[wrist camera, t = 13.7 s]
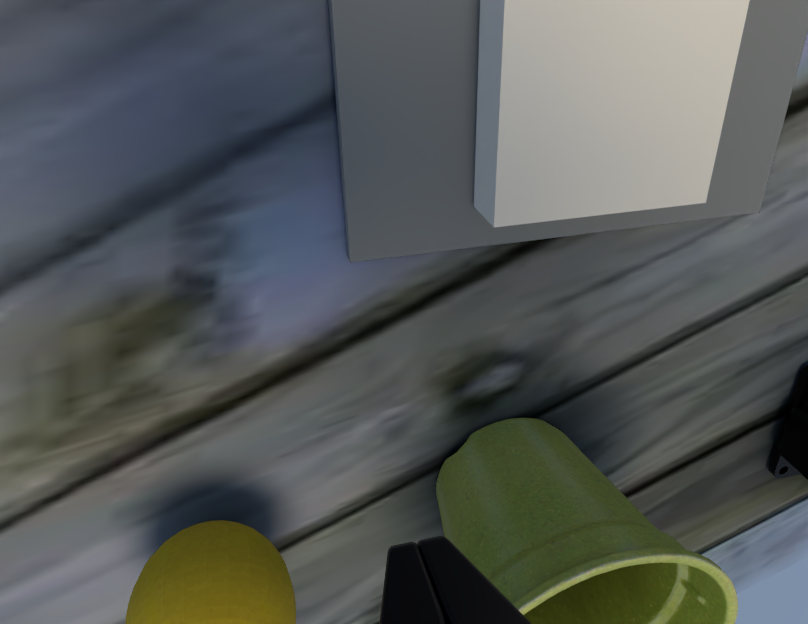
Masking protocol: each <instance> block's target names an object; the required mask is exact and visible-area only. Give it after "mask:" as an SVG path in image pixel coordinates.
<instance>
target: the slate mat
mask: <svg viewBox="0 0 808 624" xmlns="http://www.w3.org/2000/svg"><path fill="white" fill-rule="evenodd" d="M329 14H330V27H331V41H332V54H333V68H334V82H335V95H336V109H337V122H338V136H339V149H340V163H341V177H342V190H343V204H344V217H345V231H346V245H347V256H348V258H349V261H350V263H351V262H359V261H367V260H375V259H384V258H392V257H400V256H408V255H416V254H425V253H433V252H441V251H449V250H457V249H466V248H474V247H482V246H490V245H498V244H506V243H515V242H523V241H531V240H539V239H547V238H556V237H564V236H572V235H580V234H588V233H597V232H605V231H613V230H621V229H629V228H638V227H646V226H654V225H662V224H670V223H678V222H687V221H695V220H703V219H711V218H719V217H728V216H736V215H744V214H752V213H760V210H761V206H762V203H763V199H764V195H765V191H766V187H767V184H768V180H769V176H770V172H771V168H772V165H773V161H774V157H775V153H776V149H777V146H778V142H779V138H780V134H781V130H782V126H783V123H784V119H785V115H786V111H787V107H788V104H789V100H790V96H791V92H792V88H793V85H794V81H795V77H796V73H797V69H798V65H799V62H800V58H801V54H802V50H803V46H804V43H805V39H806V35H807V31H808V0H750V1H749V6H748V11H747V15H746V20H745V24H744V29H743V34H742V38H741V43H740V47H739V52H738V57H737V61H736V66H735V70H734V75H733V80H732V84H731V89H730V93H729V98H728V103H727V107H726V112H725V117H724V121H723V126H722V130H721V135H720V140H719V144H718V149H717V153H716V158H715V163H714V167H713V172H712V176H711V181H710V186H709V190H708V195H707V200H706V203H700V204H691V205H683V206H674V207H666V208H657V209H649V210H640V211H631V212H623V213H614V214H606V215H597V216H589V217H580V218H571V219H563V220H554V221H546V222H537V223H529V224H520V225H511V226H503V227H493V226H492V225H491V224H490V223H489V222H488V221H487V220H486V219H485V218H484V217H483V216H482V215H481V214H480V213H479V212H478V211H477V209H476V208H475V207H474V186H475V154H476V121H477V89H478V57H479V25H480V0H329Z"/></svg>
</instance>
